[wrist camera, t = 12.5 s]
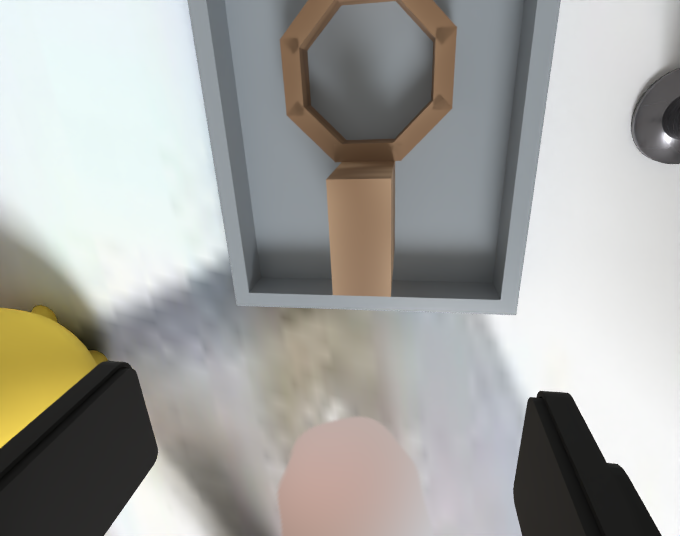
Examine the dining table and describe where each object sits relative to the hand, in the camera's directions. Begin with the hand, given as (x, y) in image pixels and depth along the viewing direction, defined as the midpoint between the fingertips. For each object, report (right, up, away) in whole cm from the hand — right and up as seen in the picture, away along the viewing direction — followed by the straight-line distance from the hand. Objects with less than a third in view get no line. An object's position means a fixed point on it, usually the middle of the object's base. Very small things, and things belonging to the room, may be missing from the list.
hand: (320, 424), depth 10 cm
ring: (+2, +12, +15) cm, 19 cm away
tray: (+2, +12, +15) cm, 20 cm away
